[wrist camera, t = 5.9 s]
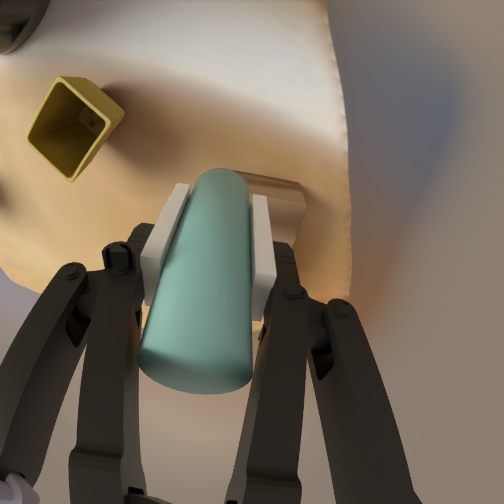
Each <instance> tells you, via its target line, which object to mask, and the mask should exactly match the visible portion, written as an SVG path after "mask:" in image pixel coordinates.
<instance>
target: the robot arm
mask: <svg viewBox="0 0 504 504" xmlns="http://www.w3.org/2000/svg"><path fill="white" fill-rule="evenodd" d="M49 1H50V0H0V55H2V54H7V53H10V52H12V51H14V50H15V49H17V48H18V47H19V46H20V45H22V44H23V43H24V42H25V41H26V40H27V39H28V37H29V36H30V35H31V34H32V32H33V31H34V30H35V28H36V27H37V25H38V24H39V22H40V20H41V19H42V17H43V15H44V13H45V11H46V8H47V6H48V4H49ZM189 193H190V185H189V184H181V183H177V184H176V186H175V188H174V190H173V191H172V193H171V195H170V197H169V199H168V201H167V203H166V204H165V206H164V208H163V210H162V212H161V214H160V216H159V218H158V220H157V222H156V224H148V223H141V224H139V225H138V226H136V227H135V228H134V230H133V231H132V233H131V236H130V237H129V238H128V241H127V242H122V241H120V242H113V243H111V244H108V245H107V246H106V247H104V249H103V250H102V256H103V261H104V267H105V269H103V270H98V271H86V268H85V266H84V265H83V264H81V263H77V262H72V263H68V264H66V265H64V266H62V267H61V268H60V269H59V270H58V272H57V273H56V274H55V276H54V277H53V279H52V280H51V281H50V283H49V284H48V286H47V287H46V289H45V290H44V292H43V293H42V295H41V296H40V297H39V299H38V301H37V302H36V304H35V305H34V307H33V308H32V310H31V312H30V313H29V315H28V316H27V318H26V320H25V321H24V323H23V325H22V326H21V328H20V330H19V331H18V333H17V335H16V337H15V339H14V340H13V342H12V344H11V346H10V348H9V350H8V351H7V353H6V355H5V357H4V359H3V361H2V363H1V365H0V504H39V503H40V498H39V496H38V494H37V493H36V492H35V491H34V490H33V486H34V485H35V483H36V481H37V479H38V477H39V475H40V473H41V470H42V466H43V463H44V460H45V456H46V452H47V449H48V445H49V442H50V438H51V435H52V432H53V429H54V426H55V422H56V419H57V416H58V414H59V411H60V408H61V405H62V402H63V399H64V396H65V394H66V391H67V389H68V386H69V384H70V381H71V379H72V376H73V374H74V371H75V369H76V366H77V364H78V362H79V359H80V357H81V355H82V353H83V350H84V348H85V346H86V344H87V346H86V352H85V358H84V364H83V371H82V379H81V387H80V397H79V407H78V422H77V442H76V446H75V448H74V449H73V450H72V451H71V453H70V456H69V464H68V465H69V490H70V503H71V504H172V503H169V502H166V501H164V500H161V499H159V498H155V497H150V496H147V490H146V482H145V476H144V472H143V469H142V465H141V455H140V438H139V401H138V400H139V399H138V398H139V397H138V396H139V395H138V394H139V393H138V391H139V366H138V363H137V359H136V358H137V352H138V349H139V345H140V337H141V324H142V308H141V305H142V302H143V300H145V305H146V306H151V304H152V300H153V297H154V294H155V291H156V288H157V285H158V282H159V279H160V276H161V273H162V270H163V267H164V264H165V261H166V258H167V255H168V252H169V250H170V247H171V244H172V241H173V239H174V236H175V233H176V231H177V228H178V225H179V223H180V220H181V217H182V215H183V212H184V210H185V207H186V205H187V202H188V200H189ZM250 258H251V308H252V321H261V320H262V317H263V314H264V324H263V327H262V329H261V332H260V335H259V338H258V340H259V346H258V351H257V356H256V362H255V367H254V372H253V377H252V382H251V388H250V393H249V398H248V403H247V408H246V413H245V418H244V423H243V428H242V433H241V438H240V442H239V447H238V451H237V456H236V461H235V465H234V470H233V474H232V478H231V481H230V483H229V486H228V489H227V493H226V497H225V502H224V504H300V502H301V495H302V486H301V482H300V480H299V478H298V475H297V469H298V461H299V452H300V442H301V432H302V420H303V409H304V395H305V380H306V362H307V359H308V363H309V368H310V373H311V377H312V382H313V386H314V391H315V396H316V400H317V405H318V410H319V415H320V420H321V425H322V429H323V435H324V440H325V445H326V450H327V456H328V461H329V466H330V471H331V477H332V483H333V489H334V494H335V500H336V504H422V503H421V501H420V499H419V498H418V496H417V495H416V493H415V492H414V490H413V486H412V482H411V477H410V473H409V469H408V465H407V461H406V457H405V453H404V449H403V446H402V442H401V438H400V435H399V431H398V428H397V425H396V421H395V418H394V415H393V412H392V408H391V406H390V402H389V399H388V396H387V393H386V390H385V387H384V384H383V381H382V378H381V375H380V373H379V370H378V367H377V364H376V361H375V359H374V356H373V353H372V351H371V348H370V345H369V343H368V340H367V338H366V335H365V332H364V330H363V327H362V325H361V322H360V320H359V318H358V315H357V312H356V310H355V309H354V307H353V306H352V305H351V304H350V303H349V302H347V301H345V300H342V299H332V300H330V301H329V302H328V304H324V303H321V302H318V301H316V300H314V299H311V298H310V297H308V293H307V291H306V290H305V288H304V287H302V286H301V285H300V281H299V276H298V271H297V267H296V262H295V259H294V253H293V250H292V248H291V247H290V246H289V244H288V243H284V242H277V241H272V235H271V227H270V220H269V212H268V205H267V198H266V196H262V195H256V194H253V196H252V201H251V205H250Z"/></svg>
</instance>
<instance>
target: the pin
mask: <svg viewBox="0 0 504 504" xmlns="http://www.w3.org/2000/svg"><path fill="white" fill-rule="evenodd" d="M136 359H137V363H138V366H139V367H140V369H141V370H142V371H143V372H144V373H145V374H146V375H147V376H148V377H150V378H151V379H153V380H154V381H156V382H158V383H160V384H162V385H164V386H166V387H169V388H172V389H175V390H179V391H182V392H188V393H194V394H221V393H227V392H231V391H235V390H237V389H240V388H242V387H244V386H245V385H246V384H248V383H249V382H250V380H251V379H252V376H253V358H252V308H251V258H250V206H249V189H248V186H247V183H246V182H245V180H244V179H243V178H242V177H241V176H240V175H239V174H237V173H236V172H234V171H231V170H228V169H222V168H220V169H213V170H209V171H207V172H205V173H204V174H202V175H201V176H200V177H199V178H198V180H197V181H196V183H195V185H194V187H193V190H192V192H191V195H190V197H189V200H188V202H187V205H186V207H185V210H184V212H183V215H182V217H181V220H180V223H179V225H178V228H177V231H176V233H175V236H174V239H173V241H172V244H171V247H170V250H169V252H168V255H167V258H166V261H165V264H164V267H163V270H162V273H161V276H160V279H159V282H158V285H157V288H156V291H155V294H154V297H153V300H152V304H151V307H150V310H149V313H148V317H147V320H146V324H145V327H144V331H143V334H142V338H141V341H140V345H139V349H138V352H137V358H136Z"/></svg>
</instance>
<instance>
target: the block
mask: <svg viewBox="0 0 504 504" xmlns="http://www.w3.org/2000/svg"><path fill="white" fill-rule="evenodd" d="M231 171H233V170H231ZM234 172H236V173H237V174H239V175H240V176H241V177H242V178H243V179H244V180H245V182H246V183H247V186H248V189H249V206H250V205H251V201H252V196H253V194H256V195H262V196H266V198H267V205H268V212H269V220H270V227H271V235H272V241H277V242H284V243H288V244H289V246H290V247H291V248H292V247H293V244H294V241H295V239H296V236H297V233H298V230H299V227H300V224H301V222H302V219H303V216H304V213H305V210H306V207H307V202H306V200H305V197H304V195H303V193H302V190H301V188H300V185H299V183H297V182H292V181H287V180H282V179H277V178H272V177H267V176H262V175H256V174H251V173H245V172H239V171H234Z"/></svg>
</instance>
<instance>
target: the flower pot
mask: <svg viewBox="0 0 504 504" xmlns="http://www.w3.org/2000/svg"><path fill="white" fill-rule="evenodd" d="M90 108H91V109H90ZM124 116H125V111H124V110H123V109H122V108H121V107H120V106H119V105H118V104H116V103H115V102H114V101H113V100H112V99H111V98H110V97H109V96H107V95H106V94H105V93H104V92H103V91H102V90H101V89H100V88H98V87H97V86H96V85H95V84H94V83H93V82H91V81H90V80H87V79H85V78H80V77H64V76H59V77H58V78H57V79H56V80H55V81H54V83H53V85H52V86H51V88H50V90H49V91H48V93H47V95H46V97H45V98H44V100H43V102H42V104H41V106H40V108H39V110H38V112H37V114H36V116H35V118H34V120H33V122H32V124H31V126H30V128H29V130H28V132H27V135H26V138H25V141H26V142H27V144H28V145H29V146H30V147H31V148H32V149H33V150H34V151H36V152H37V153H38V154H39V155H40V156H41V157H42V158H43V159H44V160H45V161H46V162H47V163H48V164H49V165H50V166H51V167H53V168H54V169H55V170H56V171H57V172H58V173H59V174H60V175H61V176H62V177H63V178H64V179H65V180H67V181H68V182H70V183H72V182H73V181H74V180H75V179H76V178H77V177H78V176H79V174H80V173H81V172H82V171H83V170H84V169H85V168H86V167H87V166H88V164H89V163H90V162H91V161H92V159H93V158H94V157H95V155H96V154H97V152H98V151H99V149H100V148H101V146H102V145H103V143H104V142H105V141H106V139H107V138H108V137H109V135H110V134H111V133H112V131H113V130H114V129H115V128H116V126H117V125H118V124H119V123H120V121H121V120H122V119H123V118H124ZM91 122H93V123H94V125H93V126H92V125H91Z"/></svg>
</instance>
